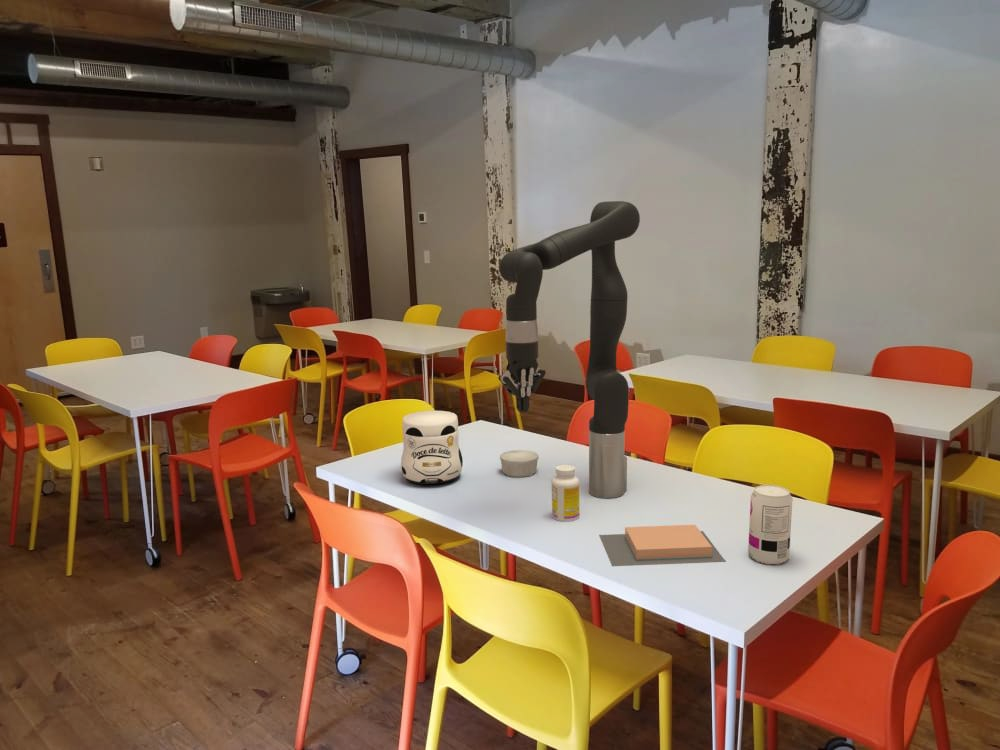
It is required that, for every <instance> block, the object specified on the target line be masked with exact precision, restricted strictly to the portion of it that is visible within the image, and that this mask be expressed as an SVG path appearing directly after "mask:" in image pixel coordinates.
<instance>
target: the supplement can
mask: <svg viewBox="0 0 1000 750" xmlns="http://www.w3.org/2000/svg"><path fill="white" fill-rule="evenodd" d="M749 505H750V506H749V525H748V526H749V529H748V545H747V546H748V547H747V552H748V555H749V556H750V557H751V558H752V560H754V559H755V560H756V561H755V560H754V561H755V562H758V563H760V562H761V563H760V564H764V563H765V565H771V564H776V565H781V563H782V564H784V563H785V562H787V561H788V560H789V558H790V547H791V529H792V515H793V514H792V513H793V497H792V495H791V492H790V490H789V489H787V488H785V487H783V486H780V485H775V484H762V485H757V486H755V487H754V489H753V491H752V493H751V494H750V504H749ZM783 562H784V563H783Z"/></svg>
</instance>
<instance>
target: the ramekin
mask: <svg viewBox="0 0 1000 750" xmlns="http://www.w3.org/2000/svg"><path fill="white" fill-rule="evenodd" d="M499 455H500V456H499V461H500V463H501V470H502V472H503V474H505V475H506V476H507V477H511V478H527V477H531V476H533V475H534V474H535V473H536V471H537V469H538V468H537V467H538V460H539V457H540V456H539V454H538V452H535V451H532V450H525V449H515V450H508V451H507V450H506V451H504V452H502V453H500V454H499ZM530 475H531V476H530ZM526 476H527V477H526Z"/></svg>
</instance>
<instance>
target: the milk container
mask: <svg viewBox="0 0 1000 750" xmlns="http://www.w3.org/2000/svg"><path fill="white" fill-rule="evenodd" d="M401 428H402V440H403V442H402V443H403V450H402V455H401V459H400V468H401V471H402V476H403V477H404V478H405V479H406V480H408V481H409V482H412V483H415V484H419V485H439V484H444V483H445V484H446V483H448V482H450V481H454V480H455V479H457V478H458V477H459V476H460V475H461V473H462V471H463V466H464V465H463V455H462V452H461V447H460V443H459V441H460V440H459V437H460V436H459V433H460V432H459V420H458V415H457V414H455V413H454V412H451V411H445V410H423V411H416V412H412V413H408V414H406V415H404V416H403V418H402V427H401Z"/></svg>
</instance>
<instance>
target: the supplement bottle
mask: <svg viewBox="0 0 1000 750" xmlns="http://www.w3.org/2000/svg"><path fill="white" fill-rule="evenodd" d="M575 473H576V467H575V466H573V465H572V464H571V465H570V464H560V465H557V466H555V475H556V476H553V478H552V479H551V511H552V512H551V515H552V519H553V520H555V521H558V522H562V523H563V522H564V523H569V522H570V523H571V522H574V521H577V520H578V519H579V518H580V479H579V478H578V476H575Z"/></svg>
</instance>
